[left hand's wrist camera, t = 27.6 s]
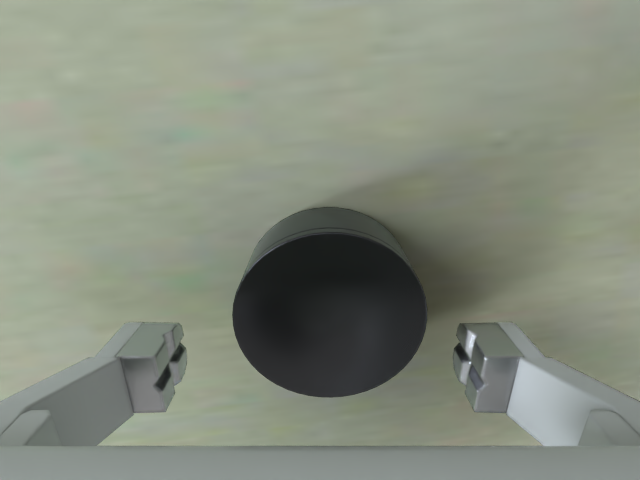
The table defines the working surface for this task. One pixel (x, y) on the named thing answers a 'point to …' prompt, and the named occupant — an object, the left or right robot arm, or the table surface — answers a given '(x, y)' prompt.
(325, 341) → the lid
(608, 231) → the table surface
